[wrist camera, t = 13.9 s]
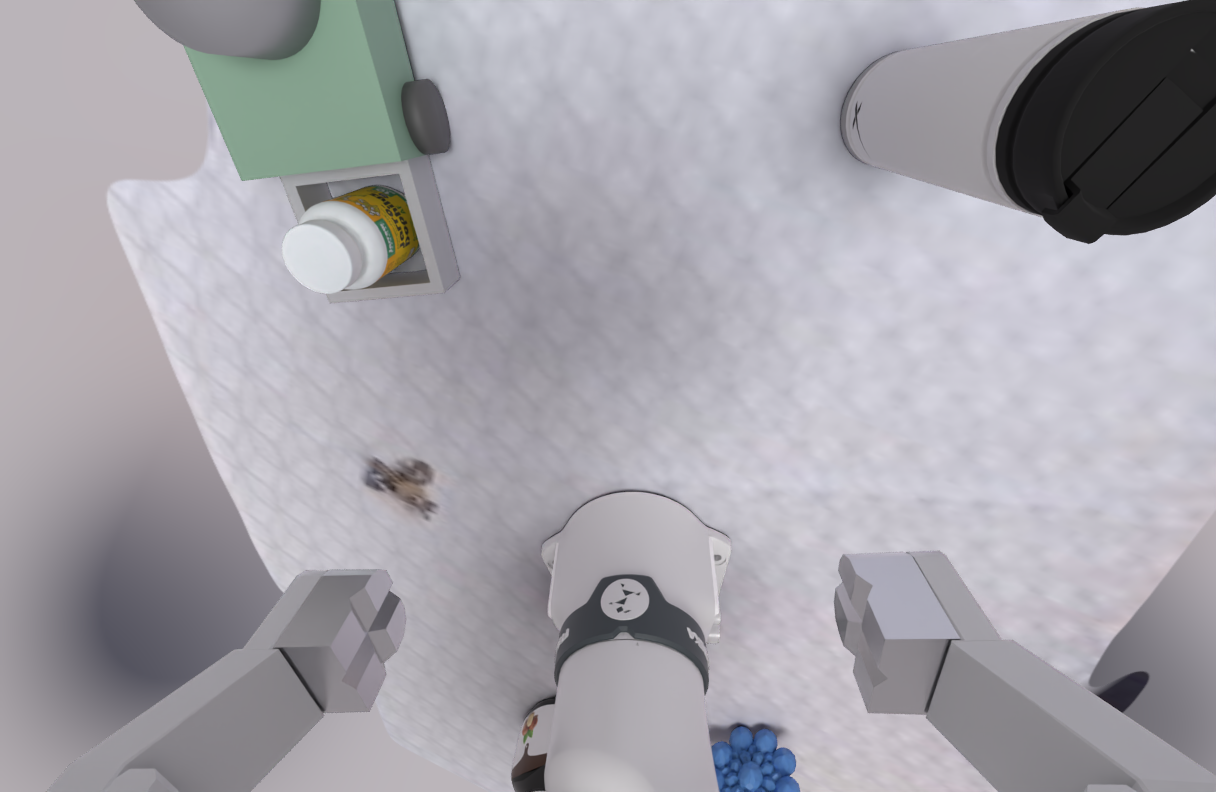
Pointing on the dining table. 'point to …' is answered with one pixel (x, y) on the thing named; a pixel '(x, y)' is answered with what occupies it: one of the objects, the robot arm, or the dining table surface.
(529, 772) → the spread jar
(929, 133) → the travel mug
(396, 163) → the green toy truck
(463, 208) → the dining table surface
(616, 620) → the robot arm
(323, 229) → the supplement bottle
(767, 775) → the grapes
